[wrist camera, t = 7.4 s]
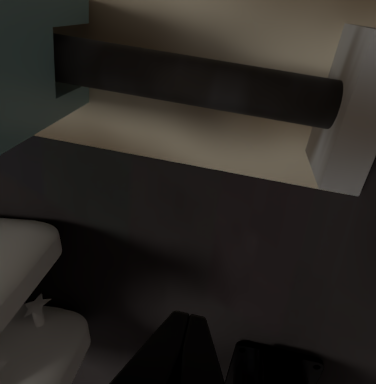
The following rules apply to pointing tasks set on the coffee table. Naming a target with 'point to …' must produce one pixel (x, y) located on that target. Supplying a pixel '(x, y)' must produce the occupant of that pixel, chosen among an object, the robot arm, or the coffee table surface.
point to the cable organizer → (35, 310)
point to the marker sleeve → (34, 67)
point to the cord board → (215, 41)
